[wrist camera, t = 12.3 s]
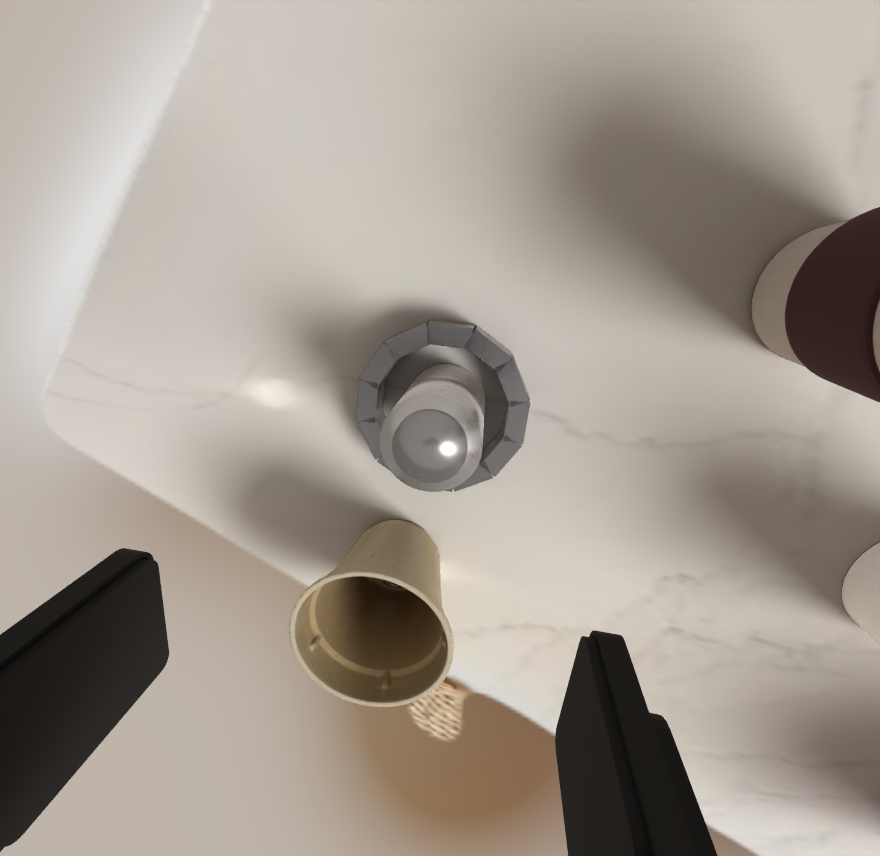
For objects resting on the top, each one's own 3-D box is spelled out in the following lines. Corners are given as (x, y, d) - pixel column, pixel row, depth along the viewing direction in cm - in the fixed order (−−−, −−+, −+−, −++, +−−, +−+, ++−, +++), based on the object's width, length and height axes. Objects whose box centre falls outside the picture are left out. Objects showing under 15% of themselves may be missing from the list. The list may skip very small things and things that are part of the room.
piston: (412, 359, 29) (380, 390, 21) (490, 369, 28) (489, 405, 20) (405, 432, 30) (374, 488, 22) (479, 443, 30) (474, 503, 22)
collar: (370, 312, 28) (362, 314, 26) (538, 332, 27) (542, 336, 25) (362, 465, 31) (353, 477, 30) (511, 486, 31) (512, 500, 29)
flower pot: (446, 487, 31) (430, 561, 23) (475, 599, 34) (469, 701, 26) (321, 508, 33) (265, 584, 25) (358, 614, 36) (318, 713, 27)
